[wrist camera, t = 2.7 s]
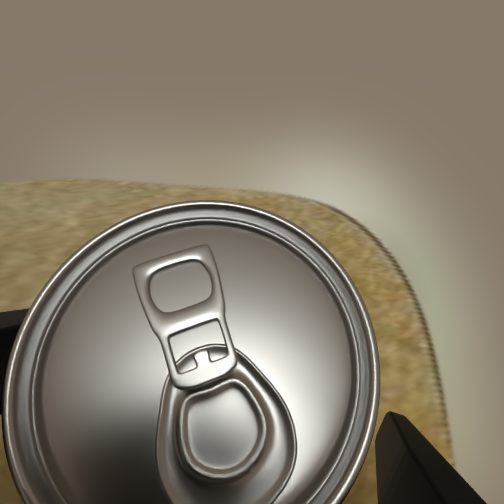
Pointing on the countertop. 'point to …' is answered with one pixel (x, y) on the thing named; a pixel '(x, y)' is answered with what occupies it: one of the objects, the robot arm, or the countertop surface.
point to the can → (193, 367)
